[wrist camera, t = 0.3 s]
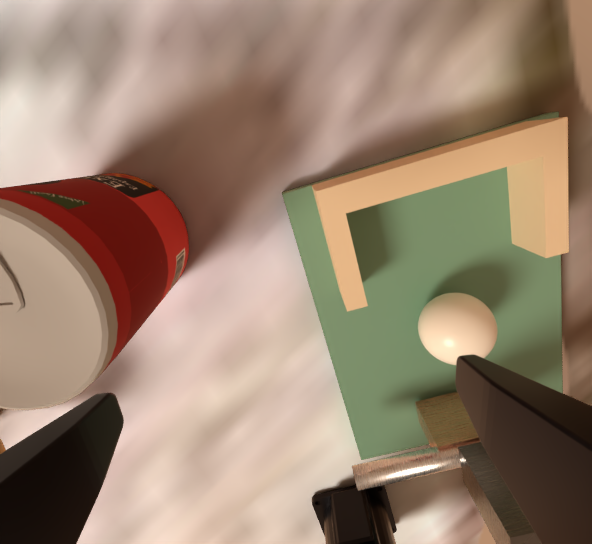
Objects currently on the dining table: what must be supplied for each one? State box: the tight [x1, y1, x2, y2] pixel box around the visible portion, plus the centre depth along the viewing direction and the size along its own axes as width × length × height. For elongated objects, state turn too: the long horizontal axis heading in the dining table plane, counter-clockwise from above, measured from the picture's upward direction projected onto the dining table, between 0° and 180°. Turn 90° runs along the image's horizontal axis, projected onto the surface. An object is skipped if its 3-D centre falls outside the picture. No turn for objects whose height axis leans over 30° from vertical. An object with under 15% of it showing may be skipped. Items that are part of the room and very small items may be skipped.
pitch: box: [282, 112, 569, 460], centre depth 22 cm, size 22×16×4 cm
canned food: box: [0, 173, 189, 410], centre depth 16 cm, size 8×8×11 cm
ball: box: [418, 293, 498, 365], centre depth 21 cm, size 4×4×4 cm
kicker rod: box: [352, 392, 542, 544], centre depth 20 cm, size 3×17×10 cm, turn 106°
